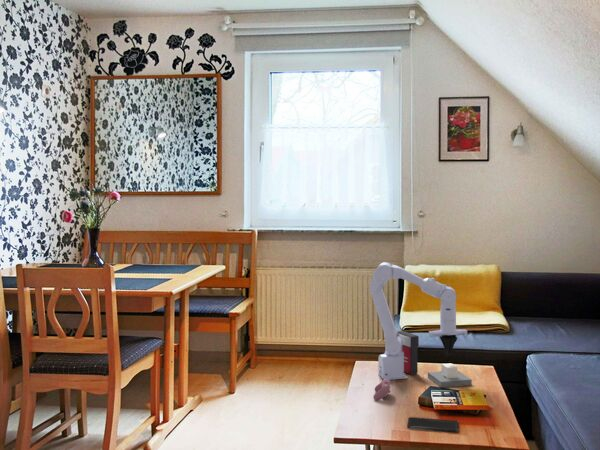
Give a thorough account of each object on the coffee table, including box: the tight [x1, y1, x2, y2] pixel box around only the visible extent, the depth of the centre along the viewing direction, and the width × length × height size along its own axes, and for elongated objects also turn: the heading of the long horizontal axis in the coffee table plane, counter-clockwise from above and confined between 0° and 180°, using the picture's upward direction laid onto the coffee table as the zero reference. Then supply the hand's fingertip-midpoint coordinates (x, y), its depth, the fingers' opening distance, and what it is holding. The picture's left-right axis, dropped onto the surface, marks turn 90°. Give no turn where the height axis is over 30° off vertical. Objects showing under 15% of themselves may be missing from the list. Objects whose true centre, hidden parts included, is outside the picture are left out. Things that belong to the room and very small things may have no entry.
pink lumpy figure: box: [373, 379, 392, 401], centre depth 202 cm, size 10×5×7 cm, turn 170°
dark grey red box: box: [397, 330, 420, 376], centre depth 231 cm, size 11×4×15 cm, turn 25°
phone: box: [406, 416, 460, 434], centre depth 175 cm, size 8×1×15 cm
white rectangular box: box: [441, 362, 458, 378], centre depth 217 cm, size 4×5×6 cm
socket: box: [427, 369, 472, 388], centre depth 217 cm, size 12×12×3 cm
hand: (448, 354), depth 219 cm, fingers closed
